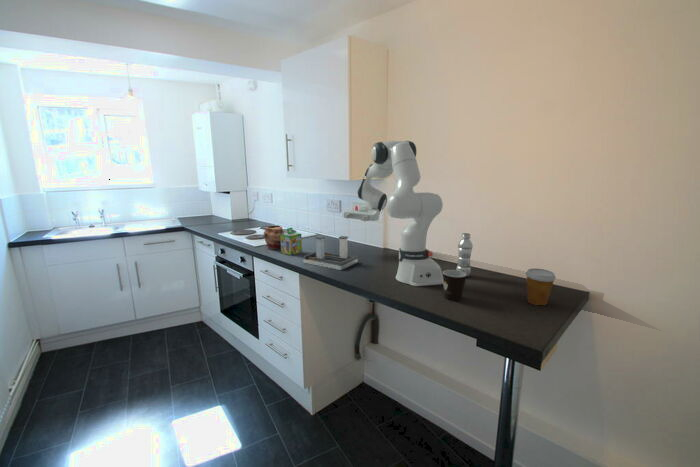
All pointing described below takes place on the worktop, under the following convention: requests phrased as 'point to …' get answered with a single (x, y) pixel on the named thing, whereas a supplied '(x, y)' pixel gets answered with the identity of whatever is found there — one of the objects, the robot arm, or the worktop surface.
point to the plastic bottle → (464, 254)
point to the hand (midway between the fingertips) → (353, 217)
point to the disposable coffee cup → (539, 285)
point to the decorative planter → (273, 236)
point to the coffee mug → (453, 284)
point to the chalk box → (291, 242)
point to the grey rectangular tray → (330, 261)
